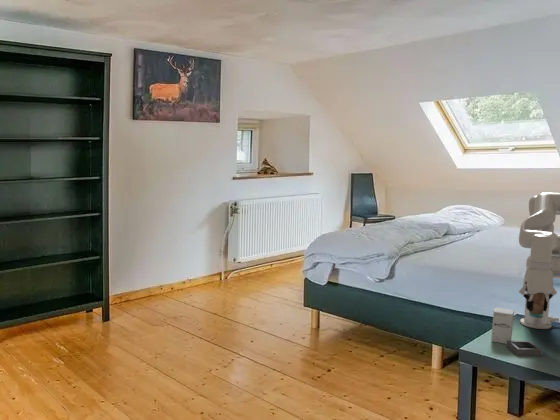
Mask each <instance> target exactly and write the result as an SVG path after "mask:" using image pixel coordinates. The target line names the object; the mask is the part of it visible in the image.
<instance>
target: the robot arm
mask: <svg viewBox="0 0 560 420" xmlns="http://www.w3.org/2000/svg"><path fill="white" fill-rule="evenodd" d="M528 213H529V216H528V217H526V219H524V220H523V222H522V223H521V225H520V228H519V235H518V243H519V246H520V247H522V248H524V249H530V255H529V256H528V257H527V258H526V260H525V261H526V262H525V263H526V265H525V266H526V267H525V268H526V270H525V273H524V278H523V284H522V287H521V289H520V290H518V293H519V294H521V295H522V297H524V299H525V304H524V305H525V306H524V316H523V317H522V318H520V320H519V322H520V324H521V325H523V326H525V327H527V328H531V329H536V330H537V329H538V330H548V329H552V322H554V323H559V322H560V318H559V317H555V316H550V315H549V312H550V311H549V310H550V301H551V298H553V297H554V296H555V295H557V293H558V292H557V290H556V289H555V288H554V279H558V280H559V279H560V234H557V233H555V231H554V230H555V226H554V223H555V222H556V218H557V216H560V192H548V191H546V192H541V193H539V194H537V195H534V196H532V197H530V198H529V200H528ZM537 293H544V294H545V299H544V311H543V317H542V318H535V317H531V316H529V311H532V308H533V302H532V298H533V296H534V294H537Z"/></svg>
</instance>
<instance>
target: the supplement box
mask: <svg viewBox="0 0 560 420" xmlns="http://www.w3.org/2000/svg"><path fill="white" fill-rule="evenodd" d="M514 314H515V310H514V309H507V308H503V307H497V306H496V307H494V310H493V316H492V325H491V326H492V327H491V338H490V339H491V340H490V342H491V341H492V342H493V343H499V344H505V345H507V341H512V336H513V327H514V326H513V325H514V317H515V316H514Z"/></svg>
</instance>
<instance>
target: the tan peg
mask: <svg viewBox="0 0 560 420" xmlns="http://www.w3.org/2000/svg"><path fill="white" fill-rule="evenodd" d="M544 299H545V294H544V293H537V294H534V296H533V298H532V302H533V308H532V311H529V316H531V317H535V318H542V317H543V311H544Z"/></svg>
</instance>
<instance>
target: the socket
mask: <svg viewBox="0 0 560 420" xmlns="http://www.w3.org/2000/svg"><path fill="white" fill-rule="evenodd" d="M506 348H507V349H508V350H510V351H512V352H513V354H514V355H516V356H518V357H520V356H522V357H523V356H524V357H525V356H527V357H542V348H540V347H539V346H538V345H536V344H534V343H533V342H532V341H531V340H511V341H507V344H506Z"/></svg>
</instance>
